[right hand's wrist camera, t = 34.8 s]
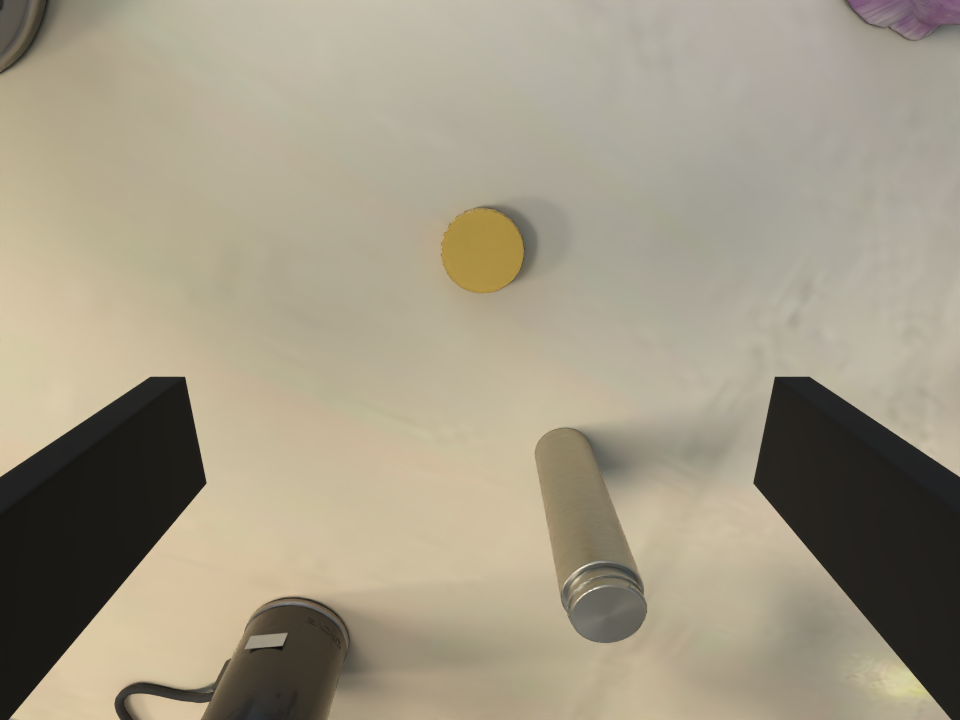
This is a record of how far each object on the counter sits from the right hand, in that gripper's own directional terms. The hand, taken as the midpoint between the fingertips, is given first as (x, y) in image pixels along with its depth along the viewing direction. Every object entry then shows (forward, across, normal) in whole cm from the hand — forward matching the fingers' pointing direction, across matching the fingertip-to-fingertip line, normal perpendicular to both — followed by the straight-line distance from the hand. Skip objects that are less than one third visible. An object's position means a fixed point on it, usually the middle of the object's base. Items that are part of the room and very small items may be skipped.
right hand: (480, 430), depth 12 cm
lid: (+26, 0, 0) cm, 26 cm away
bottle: (+28, +7, -16) cm, 33 cm away
